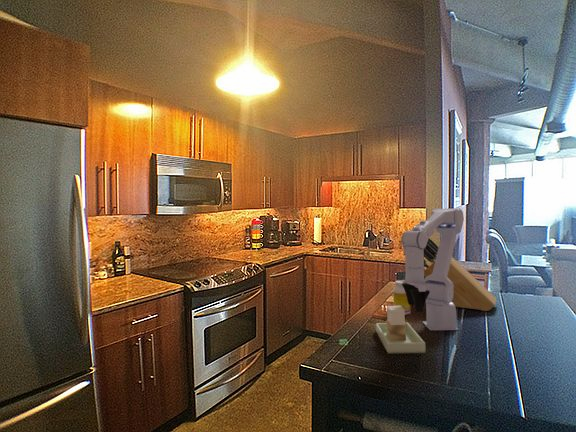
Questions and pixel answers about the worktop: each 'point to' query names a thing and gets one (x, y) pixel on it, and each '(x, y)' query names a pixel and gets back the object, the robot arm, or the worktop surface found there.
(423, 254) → the robot arm
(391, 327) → the oak block
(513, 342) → the worktop surface
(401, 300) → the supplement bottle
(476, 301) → the knife block
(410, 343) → the tote tray
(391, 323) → the cream box
